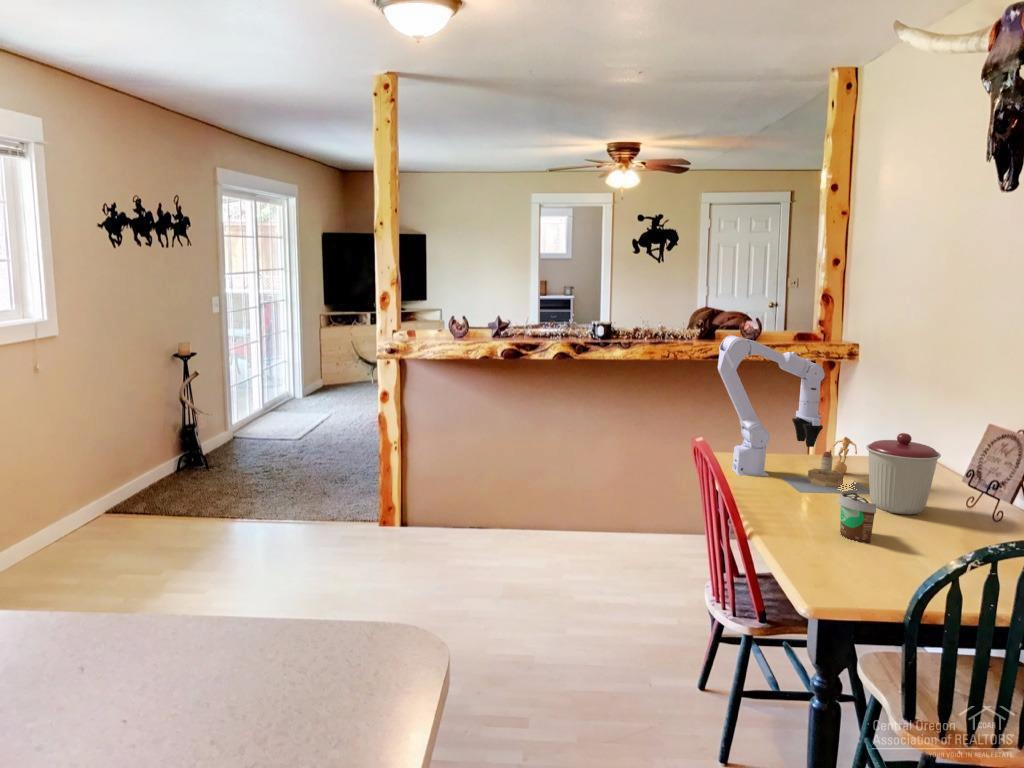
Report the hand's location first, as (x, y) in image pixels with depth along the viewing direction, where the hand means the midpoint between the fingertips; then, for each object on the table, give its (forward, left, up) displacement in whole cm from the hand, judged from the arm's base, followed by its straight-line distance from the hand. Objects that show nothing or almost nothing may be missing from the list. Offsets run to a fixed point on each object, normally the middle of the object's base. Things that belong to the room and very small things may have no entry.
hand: (805, 443), depth 247 cm
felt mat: (+2, -13, -10) cm, 16 cm away
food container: (-10, -57, -10) cm, 59 cm away
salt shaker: (+3, -10, -10) cm, 14 cm away
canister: (+13, -34, -10) cm, 38 cm away
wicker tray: (+3, -10, -10) cm, 14 cm away
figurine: (+13, +2, -10) cm, 17 cm away
